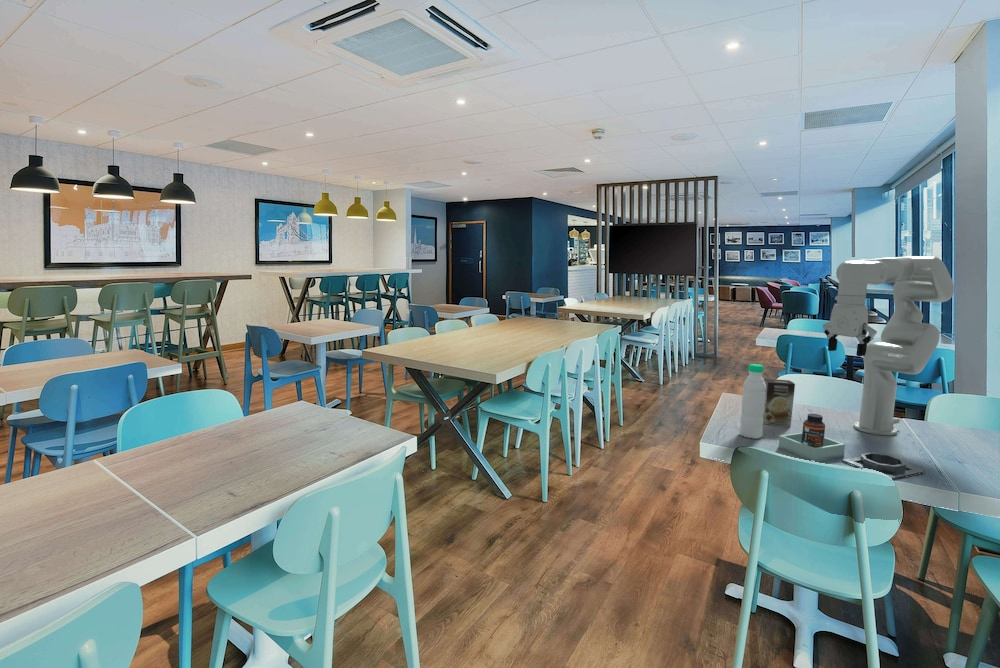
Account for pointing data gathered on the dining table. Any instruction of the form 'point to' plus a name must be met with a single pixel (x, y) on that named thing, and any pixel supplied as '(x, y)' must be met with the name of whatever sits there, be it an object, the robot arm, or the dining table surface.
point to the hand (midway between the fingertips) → (846, 353)
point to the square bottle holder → (892, 470)
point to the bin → (811, 448)
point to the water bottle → (753, 403)
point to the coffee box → (778, 402)
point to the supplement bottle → (813, 431)
